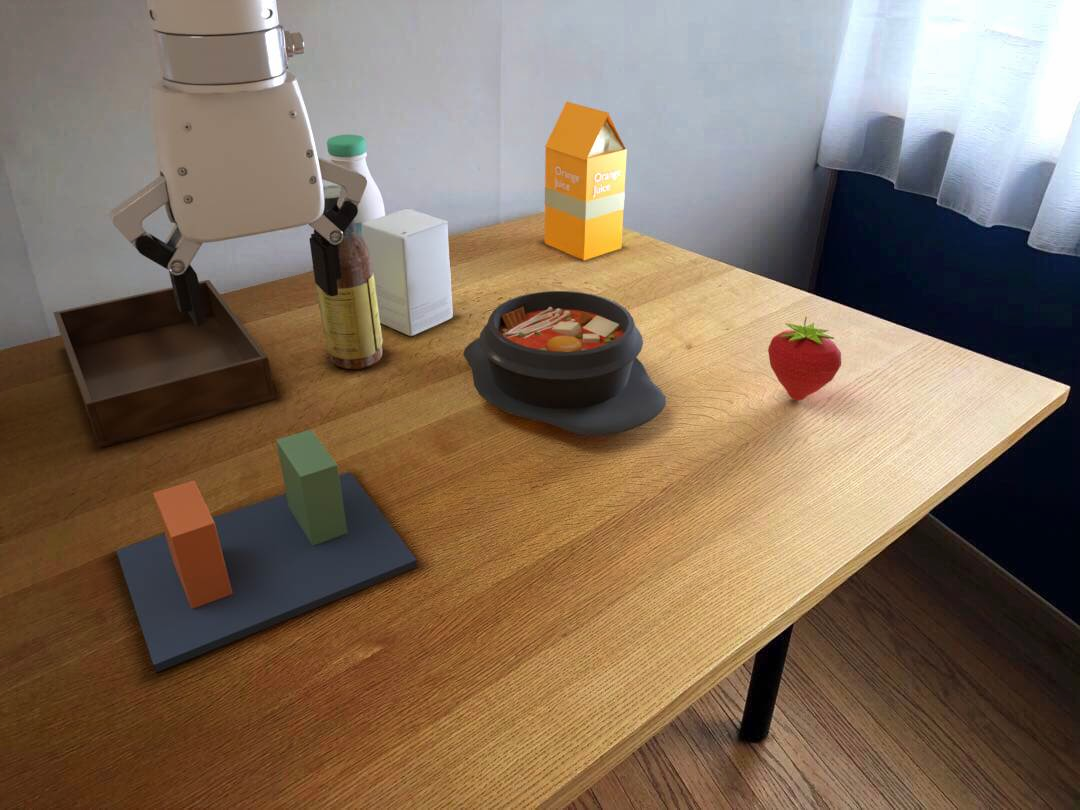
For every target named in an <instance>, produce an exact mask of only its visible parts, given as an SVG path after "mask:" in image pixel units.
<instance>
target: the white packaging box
mask: <svg viewBox="0 0 1080 810" xmlns="http://www.w3.org/2000/svg"><path fill="white" fill-rule="evenodd" d="M362 229H363V238H364V242H365V244H366V245H367V247H368V249H369V252H370V258H371V266H372V270H373V274H374V281H375V289H376V296H377V304H378V311H379V318H380V324H382V325H384V326H386V327H388V328H390V329H393V330H395V331H397V332H399V333H402V334H404V335H405V336H408V337H413V336H415V335H417V334H420V333H423V332H424V331H428V330H429V329H431V328H433V327H434V328H435V327H436V326H438V325H440V324H442V323H445V322H447V321H449V320H451V319H453V318H454V310H453V295H452V279H451V264H450V263H451V262H450V246H449V230H448V229H449V228H448V221H447V220H445V219H441V218H438V217H435V216H432V215H430V214H429V215H428V214H426V213H423V212H420V211H418V210H417V211H416V210H414V209H410V208H404V209H401V210H398V211H395V212H391V213H389V214H385V216H383V217H380V218H377V219H374V220H371V221H368V222H365V223H362Z"/></svg>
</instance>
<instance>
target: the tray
mask: <svg viewBox="0 0 1080 810" xmlns="http://www.w3.org/2000/svg"><path fill="white" fill-rule="evenodd" d="M199 286H200V291H201V296H202V300H203V305H204V310H205V315H206V319H207V322H206V323H205V325H202V326H196V324H195V323H194V321H193V320H192V318H191V317H190V315H189V313H188V312H185V313H180V311H179V309H178V307H177V303H176V300H175V295H174V291H173V287H167V288H163V289H159V290H153V291H147V292H143V293H138V294H134V295H129V296H125V297H119V298H115V299H110V300H105V301H100V302H96V303H90V304H86V305H82V306H81V305H80V306H77V307H72V308H68V309H63V310H57V311H54V312H53V313H52V314H53V316H54V319H55V323H56V326H57V328H58V332H59V334H60V338H61V340H62V344H63V347H64V350H65V353H66V355H67V358H68V361H69V363H70V368H71V370H72V372H73V375H74V378H75V381H76V385H77V386H78V390H79V392H80V395H81V398H82V401H83V404H84V406H85V409H86V412H87V415H88V417H89V421H90V423H91V426H92V429H93V432H94V434H95V437H96V440H97V443H98V445H99V449H102V448H105V447H110V446H112V445H116V444H120V443H124V442H127V441H131V440H134V439H137V438H141V437H144V436H149V435H152V434H156V433H158V432H159V433H160V432H162V431H166V430H169V429H173V428H177V427H181V426H183V425H187V424H190V423H194V422H197V421H201V420H204V419H208V418H211V417H215V416H219V415H222V414H227V413H230V412H233V411H236V410H240V409H244V408H247V407H251V406H255V405H258V404H262V403H265V402H269V401H272V400H276V398H277V397H276V393H275V387H274V381H273V377H272V376H273V375H272V370H271V366H270V360H269V359H270V358H269V356H268V355H267V354H266V352H265V351H264V350H263V349H262V347H261V346H260V344H258V342H257V341H256V340H255V338H254V337H253V336H252V334H251V333H250V331H249V330H248V329H247V328H246V326H245V325H244V324H243V322H242V321H241V320H240V319H239V317H238V316H237V314H236V313H235V312H234V310H233V309H232V308H231V307H230V306H229V304H228V303H227V301H226V300H225V298H224V297H223V296H222V295H221V294H220V292H219V291H218V290H217V288H216V287H215V286H214V285H213V283H212V282H211V280H210V279H205V280H201V281H199Z"/></svg>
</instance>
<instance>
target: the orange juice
mask: <svg viewBox="0 0 1080 810" xmlns="http://www.w3.org/2000/svg"><path fill="white" fill-rule="evenodd" d="M609 113H610V112H607V111H604V110H601V109H596V108H593V107H589V106H585V105H582V104H577V103H574V102H570V101H565V104H564V106H563V108H562V110H561V112H560V114H559V116H558V118H557V120H556V123H555V125H554V127H553V129H552V131H551V133H550V135H549V136H548V139H547V141H546V143H545V146H544V147H545V155H544V156H545V161H544V163H545V166H544V171H545V172H544V173H545V175H544V177H545V178H544V181H545V182H544V244H545V245H547V246H550V247H552V248H553V249H554V248H555V249H557V250H559V251H561V252H563V253H566V254H568V255H571V256H573V257H574V258H577V259H580V260H582V261H586V260H589V259H593V258H596V257H599V256H602V255H605V254H608V253H610V252H613V251H617V250H620V249H622V240H623V224H624V209H625V197H626V189H625V188H626V187H625V186H626V172H627V152H628V149H627V148H626V147H625V145H624V142H623V141H622V138H621V137H620V135H619V132H618V131H617V129H616V126H615V124H614V122H613V120H612V118H611V116H610V115H609Z"/></svg>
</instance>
